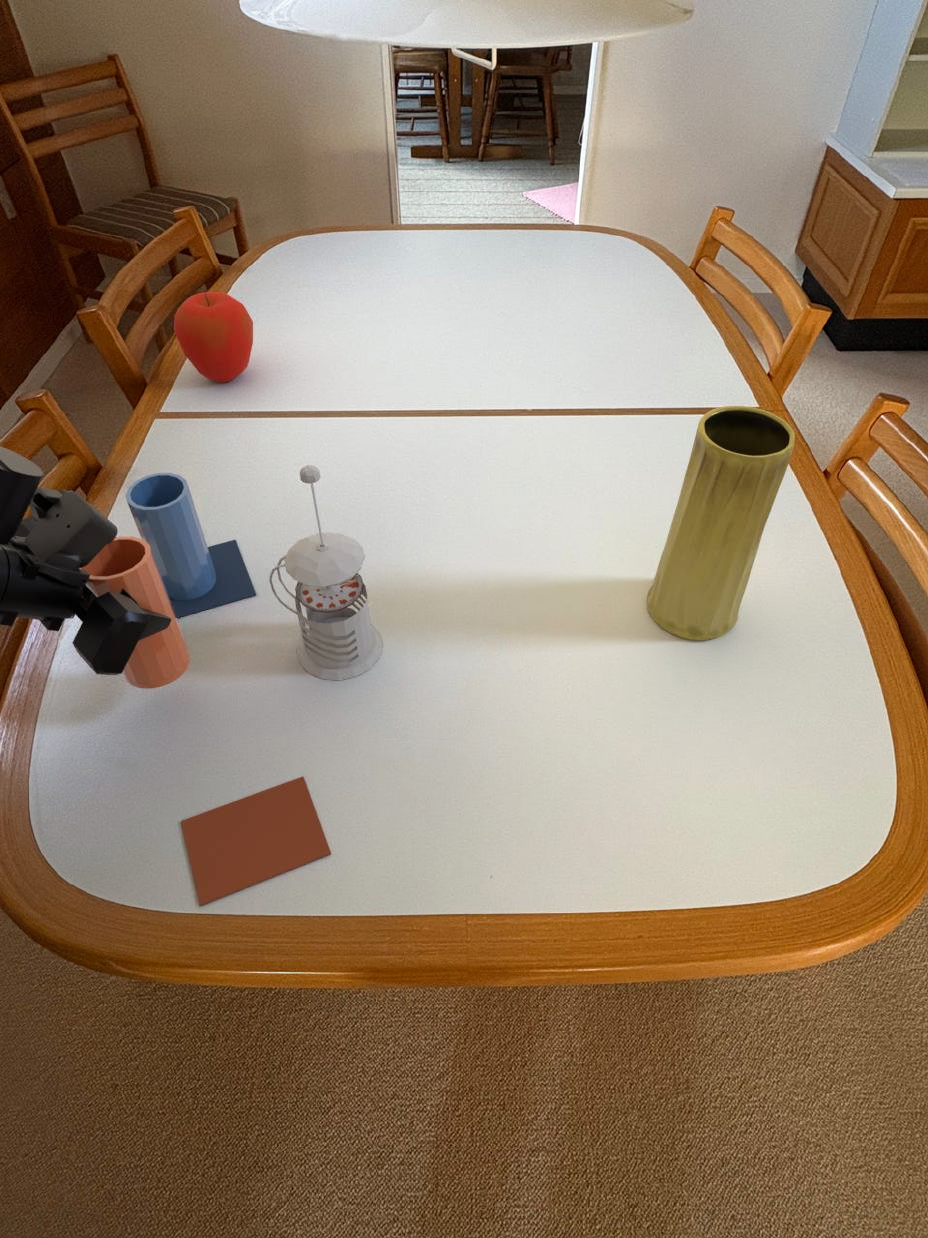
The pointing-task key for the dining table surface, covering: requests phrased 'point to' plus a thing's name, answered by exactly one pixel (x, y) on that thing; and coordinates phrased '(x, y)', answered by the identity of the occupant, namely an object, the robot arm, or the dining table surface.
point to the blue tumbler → (172, 534)
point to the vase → (719, 520)
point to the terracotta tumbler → (139, 576)
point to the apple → (215, 335)
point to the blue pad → (221, 581)
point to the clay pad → (253, 840)
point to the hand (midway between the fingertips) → (149, 604)
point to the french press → (330, 602)
